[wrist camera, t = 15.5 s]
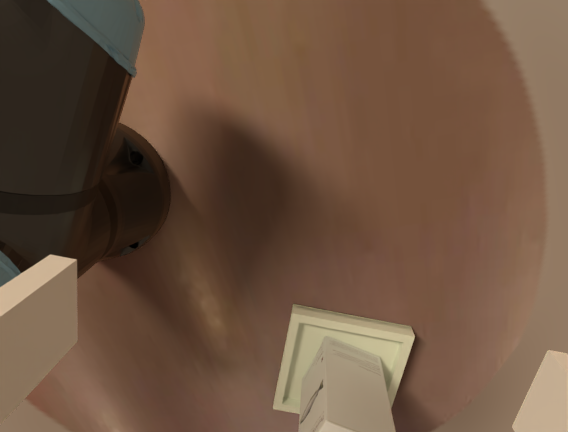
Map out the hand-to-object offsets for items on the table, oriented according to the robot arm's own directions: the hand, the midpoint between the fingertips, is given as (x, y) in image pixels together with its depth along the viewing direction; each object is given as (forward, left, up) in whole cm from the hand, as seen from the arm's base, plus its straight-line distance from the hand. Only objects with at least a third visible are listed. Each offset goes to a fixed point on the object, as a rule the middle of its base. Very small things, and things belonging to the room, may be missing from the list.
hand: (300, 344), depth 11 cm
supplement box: (+8, -25, -31) cm, 41 cm away
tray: (+8, -25, -32) cm, 41 cm away
